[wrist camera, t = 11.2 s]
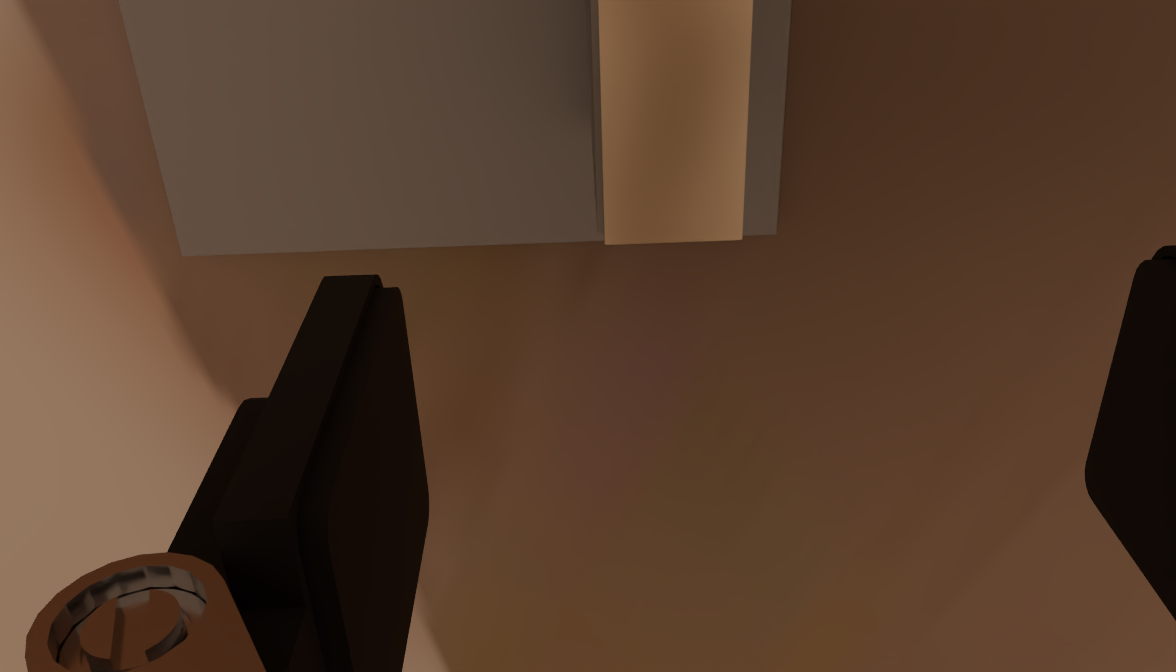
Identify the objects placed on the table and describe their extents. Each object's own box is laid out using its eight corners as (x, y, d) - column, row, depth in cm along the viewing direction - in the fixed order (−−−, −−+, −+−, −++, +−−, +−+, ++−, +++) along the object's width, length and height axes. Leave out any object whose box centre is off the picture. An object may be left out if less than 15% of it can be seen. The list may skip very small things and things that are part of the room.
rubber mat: (806, -310, 25) (811, -311, 24) (773, 226, 32) (776, 234, 31) (58, -283, 25) (47, -283, 24) (188, 247, 32) (182, 256, 31)
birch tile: (706, -146, 26) (757, -106, 19) (700, 123, 30) (742, 239, 23) (581, -141, 26) (588, -100, 19) (590, 128, 30) (598, 245, 23)
